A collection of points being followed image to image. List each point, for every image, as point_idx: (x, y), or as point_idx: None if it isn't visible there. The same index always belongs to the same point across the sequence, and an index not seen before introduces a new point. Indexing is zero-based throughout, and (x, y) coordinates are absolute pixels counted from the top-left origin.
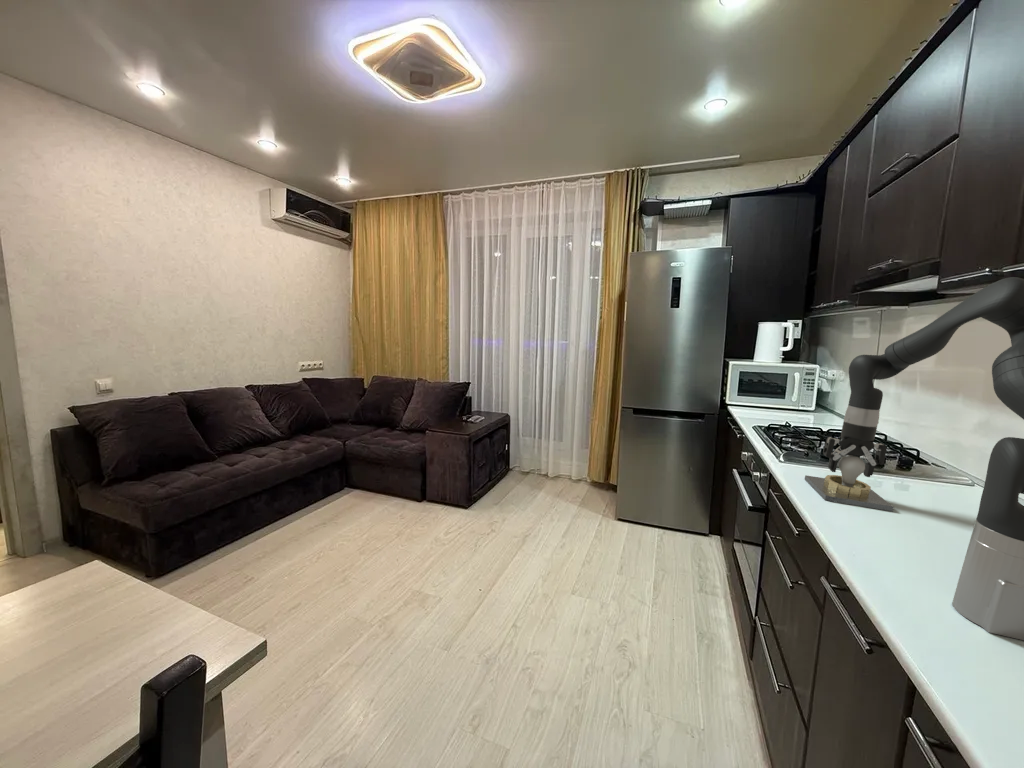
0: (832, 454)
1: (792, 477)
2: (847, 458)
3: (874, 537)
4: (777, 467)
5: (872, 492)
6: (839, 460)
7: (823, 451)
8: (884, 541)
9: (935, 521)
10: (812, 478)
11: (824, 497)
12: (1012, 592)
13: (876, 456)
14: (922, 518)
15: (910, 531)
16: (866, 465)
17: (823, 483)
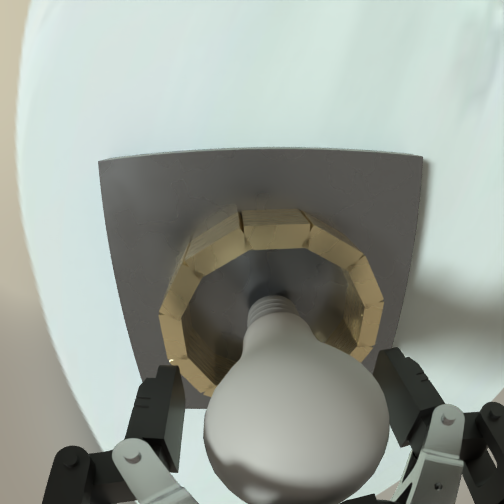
0: (130, 481)
1: (57, 160)
2: (246, 502)
3: (223, 496)
4: (29, 32)
5: (396, 276)
6: (208, 433)
7: (54, 473)
8: (236, 500)
9: (448, 373)
10: (126, 205)
11: None
12: None
13: (494, 450)
14: (429, 374)
15: None
16: (408, 410)
17: (171, 266)
